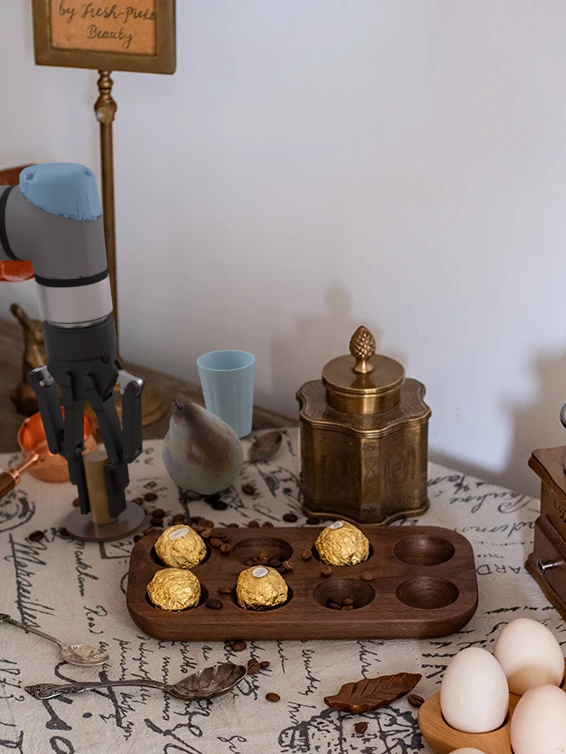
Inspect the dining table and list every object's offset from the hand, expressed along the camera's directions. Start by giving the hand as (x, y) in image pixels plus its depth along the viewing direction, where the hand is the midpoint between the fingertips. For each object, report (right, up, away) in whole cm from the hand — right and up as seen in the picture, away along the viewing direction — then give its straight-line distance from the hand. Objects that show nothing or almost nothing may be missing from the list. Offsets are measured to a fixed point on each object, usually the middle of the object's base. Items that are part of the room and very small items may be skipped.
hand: (103, 510), depth 128 cm
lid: (0, -1, +1) cm, 2 cm away
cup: (+12, +10, +23) cm, 28 cm away
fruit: (+10, +3, +9) cm, 14 cm away
